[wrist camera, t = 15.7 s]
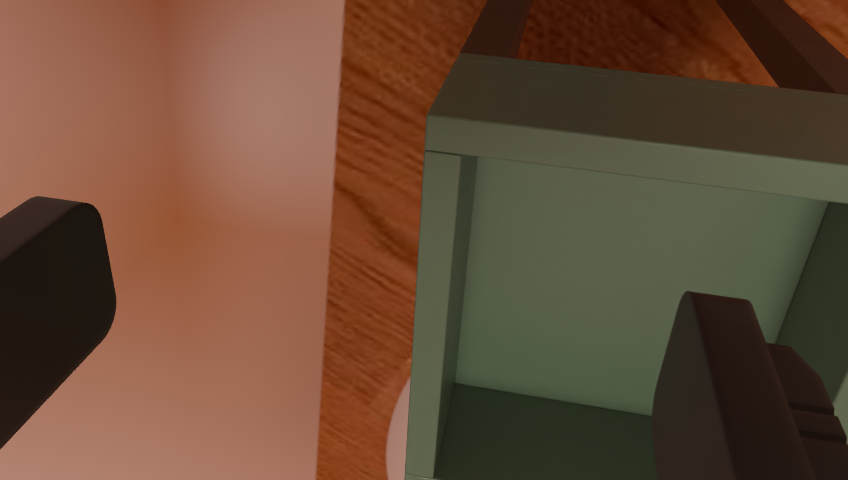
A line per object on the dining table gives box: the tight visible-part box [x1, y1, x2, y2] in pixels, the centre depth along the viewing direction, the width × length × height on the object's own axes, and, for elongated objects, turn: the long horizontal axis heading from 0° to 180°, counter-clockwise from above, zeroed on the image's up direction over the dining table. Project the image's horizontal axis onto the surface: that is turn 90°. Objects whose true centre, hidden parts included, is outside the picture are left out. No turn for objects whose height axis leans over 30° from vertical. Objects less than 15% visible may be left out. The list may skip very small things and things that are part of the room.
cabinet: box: [405, 0, 848, 480], centre depth 33 cm, size 14×13×28 cm
